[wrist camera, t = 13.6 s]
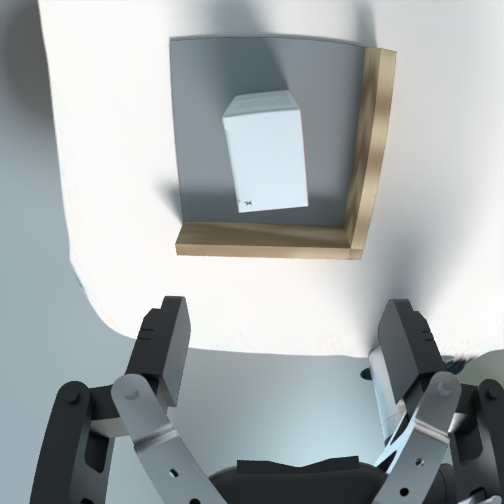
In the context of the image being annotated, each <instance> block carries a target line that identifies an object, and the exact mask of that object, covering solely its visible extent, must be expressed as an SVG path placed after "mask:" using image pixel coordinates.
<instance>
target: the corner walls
mask: <svg viewBox="0 0 504 504" xmlns="http://www.w3.org/2000/svg"><path fill="white" fill-rule="evenodd" d="M395 63H396V51H392V50H387V49H382V48H370V47H365V56H364V70H363V82H362V92H361V102H360V112H359V120H358V129H357V137H356V144H355V152H354V159H353V166H352V173H351V179H350V185H349V192H348V198H347V204H346V209H345V215H344V221H343V226H330V225H303V224H271V223H228V222H184V223H183V225H182V228H181V230H180V233H179V236H178V238H177V241H176V243H175V246H176V252H177V255H189V256H225V257H263V258H303V259H346V260H361V257H362V253H363V249H364V245H365V241H366V237H367V233H368V228H369V224H370V220H371V215H372V211H373V206H374V201H375V197H376V192H377V187H378V182H379V177H380V171H381V166H382V160H383V155H384V149H385V143H386V136H387V130H388V123H389V116H390V109H391V101H392V92H393V84H394V74H395Z"/></svg>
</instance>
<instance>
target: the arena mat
mask: <svg viewBox="0 0 504 504" xmlns="http://www.w3.org/2000/svg"><path fill="white" fill-rule="evenodd" d="M364 56H365V47H361V46H355V45H348V44H341V43H333V42H325V41H315V40H304V39H290V38H269V37H226V38H204V39H191V40H180V41H170V59H171V81H172V99H173V114H174V128H175V141H176V152H177V163H178V174H179V183H180V193H181V202H182V211H183V219H184V222H228V223H271V224H303V225H330V226H343V221H344V215H345V209H346V204H347V198H348V192H349V185H350V179H351V173H352V166H353V159H354V152H355V144H356V137H357V129H358V120H359V112H360V102H361V92H362V82H363V70H364ZM281 90H289V91H290V92H291V94H292V95H293V97H294V99H295V100H296V101H297V103H298V105H299V106H300V108H301V113H302V123H303V134H304V145H305V157H306V170H307V185H308V201H309V205H308V206H302V207H293V208H282V209H271V210H261V211H251V212H238V204H237V196H236V189H235V184H234V178H233V172H232V166H231V161H230V156H229V150H228V144H227V139H226V134H225V130H224V126H223V122H222V116H223V114H224V113H225V111H226V109H227V108H228V106H229V105H230V103H231V102H232V100H233V99H234V97H235V96H237V95H244V94H252V93H261V92H270V91H281Z"/></svg>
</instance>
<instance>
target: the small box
mask: <svg viewBox="0 0 504 504" xmlns="http://www.w3.org/2000/svg"><path fill="white" fill-rule="evenodd" d="M222 122H223V126H224V130H225V134H226V139H227V144H228V150H229V156H230V161H231V166H232V172H233V178H234V184H235V189H236V196H237V204H238V212H251V211H261V210H271V209H282V208H293V207H302V206H308V205H309V201H308V185H307V170H306V157H305V145H304V134H303V123H302V113H301V108H300V106H299V105H298V103H297V101H296V100H295V99H294V97H293V95H292V94H291V92H290V91H289V90H281V91H270V92H261V93H252V94H244V95H237V96H235V97H234V99H233V100H232V102H231V103H230V105H229V106H228V108H227V109H226V111H225V113H224V114H223V116H222Z"/></svg>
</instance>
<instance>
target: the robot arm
mask: <svg viewBox="0 0 504 504" xmlns="http://www.w3.org/2000/svg"><path fill="white" fill-rule="evenodd" d="M430 331H431V330H430V328H429V325H428V323H427V321H426V319H425V318H424V317H423V316H422V315H421V314H420V313H419V312H418V311H413V309H412V306H411V304H410V302H409V300H408V299H390V300H389V301H388V303H387V306H386V308H385V311H384V313H383V316H382V319H381V321H380V324H379V327H378V338H379V342H380V345H379V346H377V347H376V348H375V349H374V350H373V351H372V352H371V353H370V355H369V357H368V361H369V366H370V371H371V375H372V380H373V384H374V390H375V394H376V399H377V405H378V410H379V414H380V420H381V426H382V431H383V436H384V442H385V450H384V451H383V453H382V454H381V455H380V456H379V457H378V459H377V460H376V462H375V463H374V465H373V466H372V465H369V464H366V463H363V462H359V458H358V456H351V457H341V458H331V459H327V460H324V461H321V462H317V463H314V464H311V465H307V466H304V467H294V466H288V465H284V464H279V463H275V462H270V461H248V460H237V466H233V467H228V468H225V469H222V470H220V471H217V472H216V473H214V474H212V475H210V476H209V477H207V476H206V474H205V473H204V472H203V470H202V469H201V467H200V466H199V464H198V463H197V462H196V460H195V459H194V457H193V456H192V454H191V453H190V451H189V450H188V448H187V447H186V445H185V444H184V442H183V440H182V439H181V437H180V436H179V434H178V433H177V431H176V430H175V428H174V427H173V425H172V424H171V422H170V420H169V419H168V417H167V415H166V414H167V409H168V406H170V407H176V406H177V400H178V395H179V390H180V385H181V379H182V374H183V369H184V364H185V359H186V354H187V349H188V344H189V340H190V332H191V325H190V319H189V314H188V309H187V304H186V299H185V297H181V296H165V297H164V300H163V303H162V306H161V309H156V308H152V309H151V310H150V311H149V313H148V314H147V315H146V316H145V317H144V319H143V322H142V325H141V328H140V331H139V333H138V336H137V339H136V342H135V345H134V349H133V351H132V355H131V357H130V361H129V364H128V367H127V370H126V372H125V374H124V375H123V376H121V377H119V378H118V379H117V380H116V381H115V382H114V384H112V385H109V386H103V387H96V388H88V387H87V386H86V385H85V384H84V383H82V382H79V381H71V382H68V383H66V384H64V385H63V386H62V387H61V388H60V389H59V391H58V393H57V396H56V399H55V402H54V405H53V408H52V412H51V415H50V419H49V422H48V425H47V429H46V432H45V436H44V440H43V443H42V447H41V451H40V455H39V459H38V464H37V468H36V473H35V477H34V482H33V487H32V493H31V497H30V503H29V504H105V499H106V491H107V484H108V476H109V471H110V465H111V458H112V452H113V447H114V441H115V437H120V436H127V435H130V437H131V439H132V441H133V444H134V450H135V452H136V454H137V456H138V458H139V460H140V462H141V464H142V465H143V467H144V469H145V471H146V473H147V474H148V476H149V478H150V480H151V481H152V483H153V484H154V486H155V488H156V490H157V491H158V493H159V494H160V496H161V498H162V499H163V501H164V502H165V504H504V390H503V388H502V386H501V385H500V384H499V383H498V382H497V381H495V380H493V379H486V380H484V381H483V382H481V384H480V385H479V386H473V385H466V384H462V383H460V382H459V380H458V378H457V377H455V376H454V375H453V374H451V373H449V372H447V371H446V369H445V366H444V363H443V361H442V358H441V355H440V353H439V350H438V347H437V345H436V342H435V341H434V337H433V335H432V333H431V332H430ZM479 430H480V431H479ZM447 433H448V437H447ZM480 434H481V435H480ZM481 438H482V440H481ZM482 443H483V444H482ZM449 444H450V449H451V455H452V461H453V466H452V465H450V464H447V463H446V464H445V463H444V464H441V462H442V460H443V458H444V455H445V453H446V450H447V448H448V445H449Z"/></svg>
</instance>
